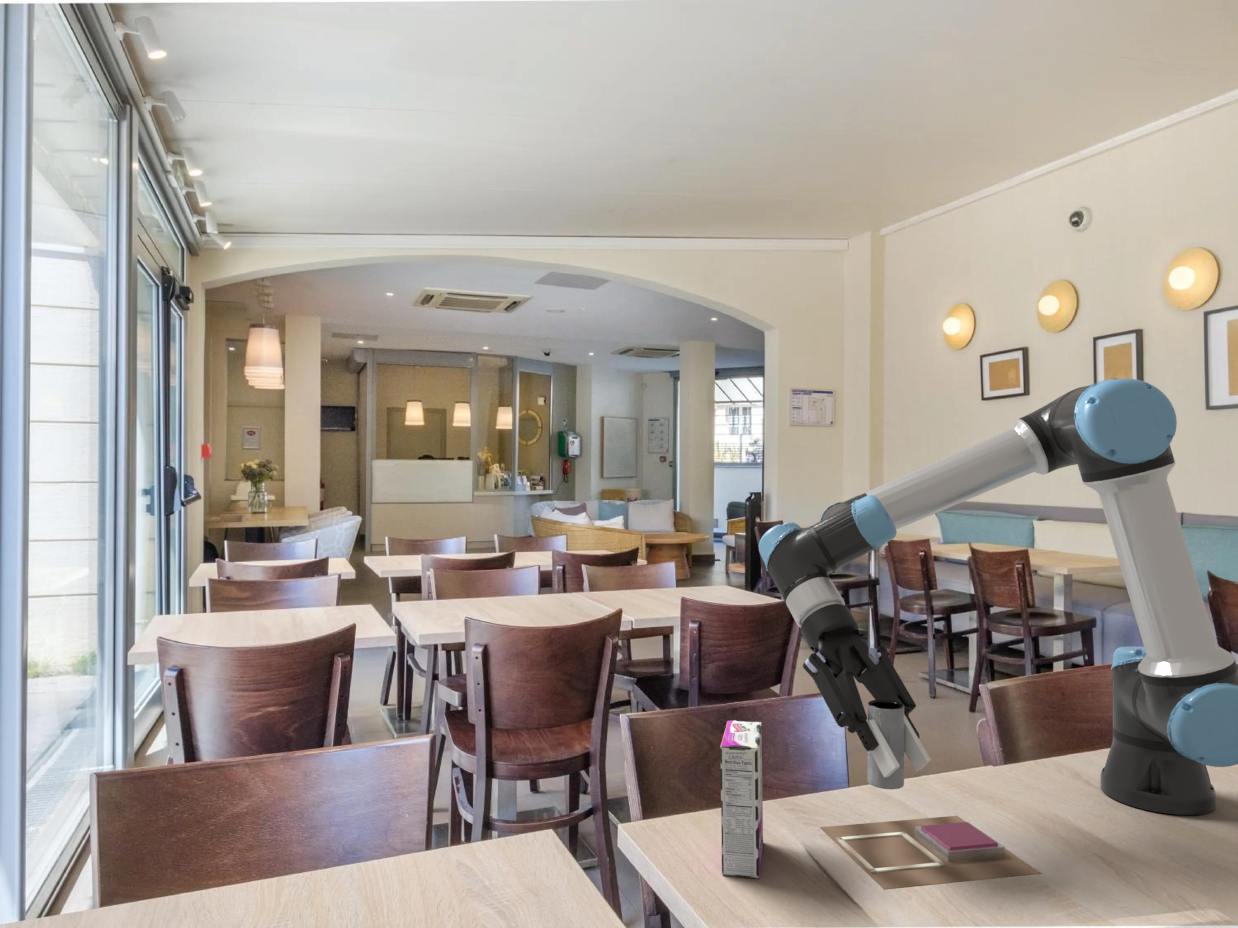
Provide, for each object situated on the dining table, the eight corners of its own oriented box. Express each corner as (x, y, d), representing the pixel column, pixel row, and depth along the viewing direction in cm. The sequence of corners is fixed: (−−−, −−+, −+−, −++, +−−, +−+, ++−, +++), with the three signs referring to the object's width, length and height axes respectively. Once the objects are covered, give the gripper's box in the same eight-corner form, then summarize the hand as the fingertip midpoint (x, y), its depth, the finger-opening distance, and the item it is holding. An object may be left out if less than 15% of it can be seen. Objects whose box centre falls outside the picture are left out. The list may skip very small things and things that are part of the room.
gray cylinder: (906, 790, 109) (906, 709, 109) (869, 788, 110) (869, 707, 110) (901, 778, 114) (902, 700, 114) (866, 775, 115) (866, 698, 115)
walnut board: (956, 822, 123) (956, 814, 123) (1041, 881, 106) (1041, 871, 106) (819, 834, 119) (819, 825, 119) (884, 897, 102) (883, 886, 102)
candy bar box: (726, 838, 118) (726, 718, 118) (763, 842, 117) (763, 721, 117) (719, 876, 107) (718, 744, 107) (759, 880, 106) (759, 746, 106)
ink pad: (968, 830, 118) (968, 819, 118) (1004, 856, 110) (1004, 844, 110) (914, 835, 117) (914, 824, 117) (948, 861, 109) (948, 849, 109)
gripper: (857, 627, 130) (942, 772, 115) (761, 637, 122) (838, 793, 107) (882, 597, 125) (975, 744, 110) (784, 605, 117) (868, 764, 102)
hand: (907, 768), depth 108 cm, fingers closed on gray cylinder, 4 cm apart
